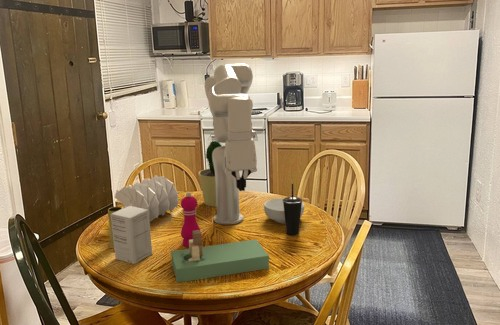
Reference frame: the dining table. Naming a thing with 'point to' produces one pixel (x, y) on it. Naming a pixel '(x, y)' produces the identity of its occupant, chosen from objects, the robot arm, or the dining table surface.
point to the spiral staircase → (150, 196)
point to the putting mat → (220, 260)
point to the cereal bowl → (277, 210)
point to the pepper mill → (189, 218)
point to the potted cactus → (209, 177)
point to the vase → (110, 211)
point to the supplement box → (131, 234)
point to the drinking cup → (292, 214)
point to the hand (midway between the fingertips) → (241, 189)
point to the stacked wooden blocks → (196, 245)
